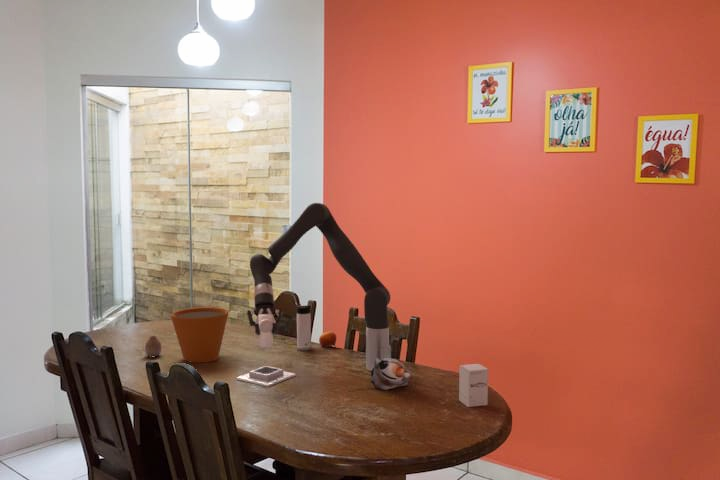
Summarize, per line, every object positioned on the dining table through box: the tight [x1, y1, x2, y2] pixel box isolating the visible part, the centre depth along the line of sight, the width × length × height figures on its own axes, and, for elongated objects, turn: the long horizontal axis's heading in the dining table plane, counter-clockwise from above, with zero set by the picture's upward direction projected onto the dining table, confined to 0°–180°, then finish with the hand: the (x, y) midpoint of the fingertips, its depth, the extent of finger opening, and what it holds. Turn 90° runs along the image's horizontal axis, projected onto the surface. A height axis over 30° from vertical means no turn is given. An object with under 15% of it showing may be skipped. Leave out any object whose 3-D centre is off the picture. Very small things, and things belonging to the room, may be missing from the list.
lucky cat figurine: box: [370, 357, 412, 391], centre depth 222 cm, size 15×12×14 cm
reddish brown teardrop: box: [144, 335, 163, 358], centre depth 265 cm, size 7×7×9 cm
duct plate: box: [236, 365, 297, 388], centre depth 234 cm, size 16×16×3 cm
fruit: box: [318, 330, 337, 348], centre depth 281 cm, size 8×8×8 cm
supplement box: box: [458, 363, 489, 408], centre depth 206 cm, size 7×7×13 cm
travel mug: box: [296, 305, 312, 352], centre depth 276 cm, size 6×7×20 cm
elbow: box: [258, 314, 274, 349], centre depth 231 cm, size 9×5×12 cm, turn 12°
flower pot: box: [170, 306, 229, 363], centre depth 261 cm, size 24×24×20 cm
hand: (266, 333), depth 231 cm, fingers closed on elbow, 5 cm apart
